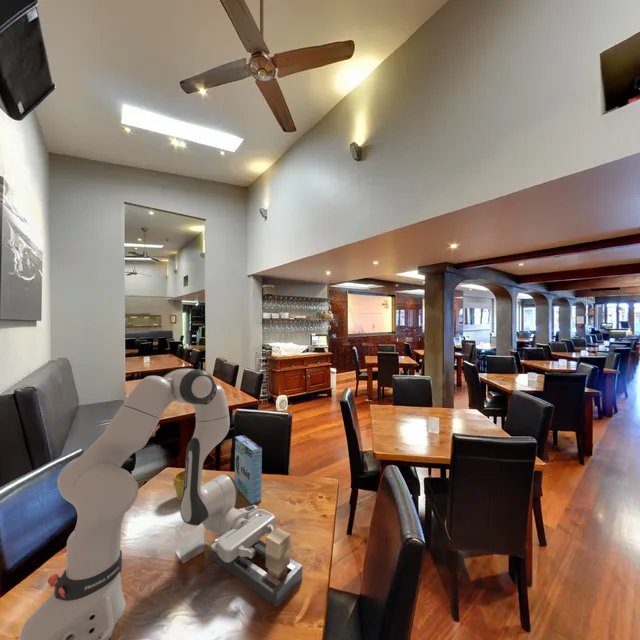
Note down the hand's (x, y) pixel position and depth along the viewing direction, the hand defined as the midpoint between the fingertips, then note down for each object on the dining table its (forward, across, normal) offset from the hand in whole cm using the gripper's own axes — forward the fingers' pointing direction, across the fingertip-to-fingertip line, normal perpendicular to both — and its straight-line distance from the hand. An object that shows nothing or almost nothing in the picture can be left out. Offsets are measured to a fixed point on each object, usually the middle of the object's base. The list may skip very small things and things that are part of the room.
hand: (265, 544), depth 89 cm
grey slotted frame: (-4, 0, +9) cm, 10 cm away
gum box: (-39, +27, +9) cm, 48 cm away
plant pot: (-58, +9, +9) cm, 59 cm away
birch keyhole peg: (+5, 0, +9) cm, 11 cm away
